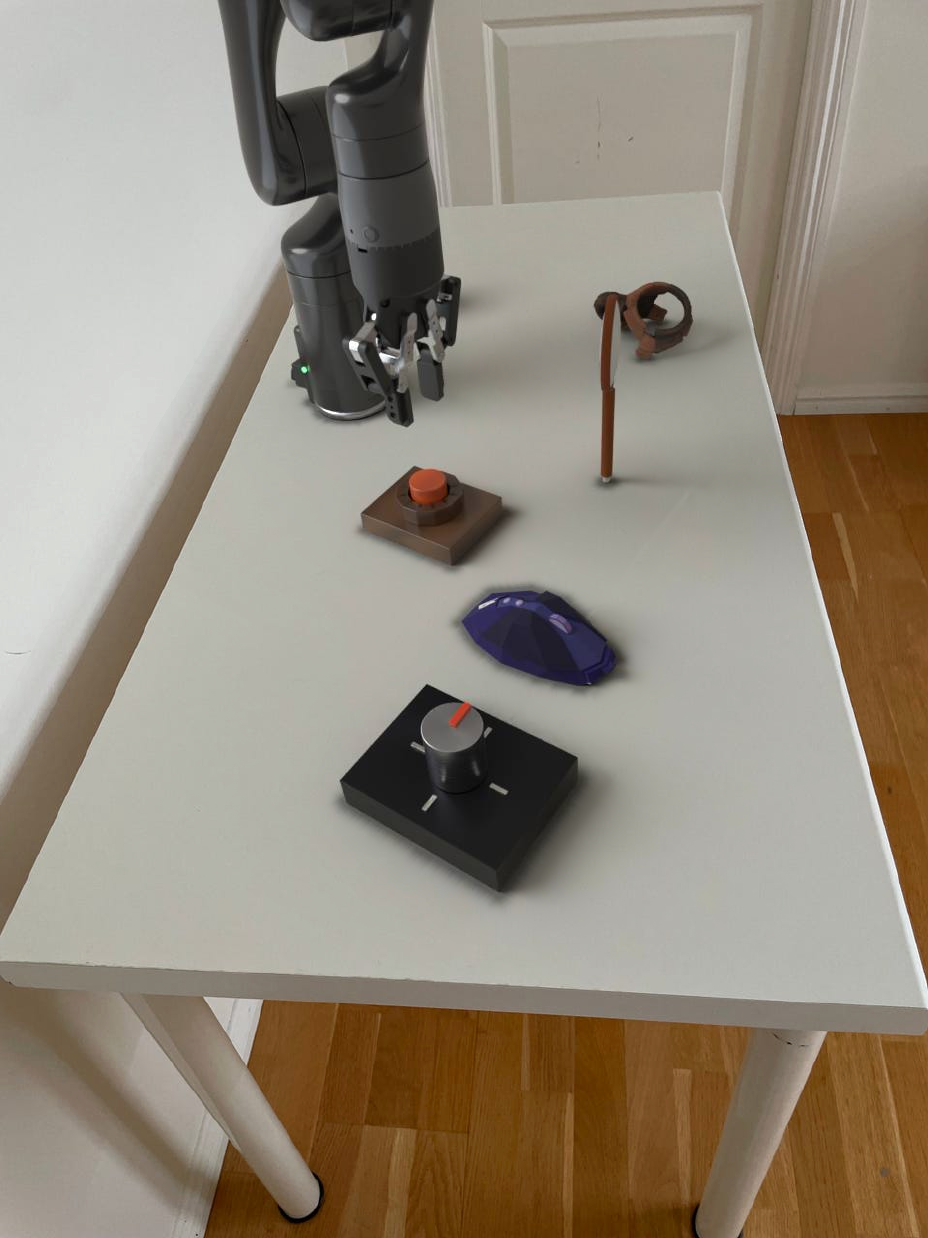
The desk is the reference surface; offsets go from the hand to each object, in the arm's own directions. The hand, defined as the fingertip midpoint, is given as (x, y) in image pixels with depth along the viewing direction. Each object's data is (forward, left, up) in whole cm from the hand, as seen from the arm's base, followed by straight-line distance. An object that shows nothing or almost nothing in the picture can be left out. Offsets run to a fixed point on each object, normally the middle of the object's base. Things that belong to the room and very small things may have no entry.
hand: (417, 409), depth 85 cm
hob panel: (+21, -25, -13) cm, 35 cm away
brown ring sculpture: (+2, +41, -13) cm, 43 cm away
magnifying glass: (+12, +14, -13) cm, 23 cm away
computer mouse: (+18, -8, -13) cm, 24 cm away
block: (0, 0, -13) cm, 13 cm away
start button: (0, 0, -10) cm, 10 cm away
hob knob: (+21, -25, -10) cm, 34 cm away
